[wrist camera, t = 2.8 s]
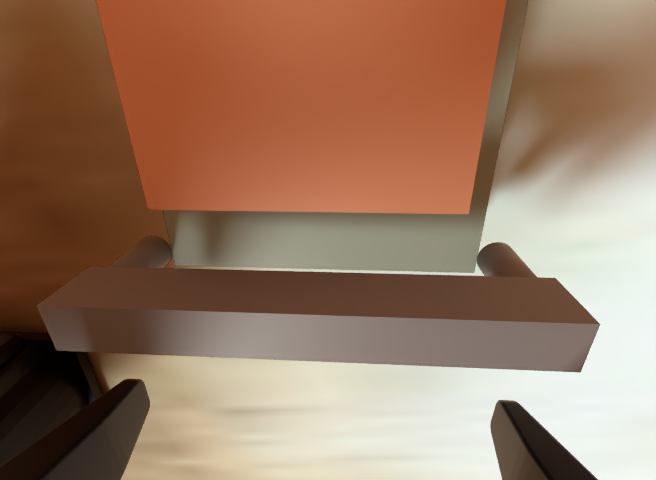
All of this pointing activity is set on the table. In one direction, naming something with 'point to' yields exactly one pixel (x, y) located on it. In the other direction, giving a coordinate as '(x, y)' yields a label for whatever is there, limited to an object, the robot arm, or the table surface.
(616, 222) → the table surface
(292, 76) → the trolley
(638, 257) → the table surface
